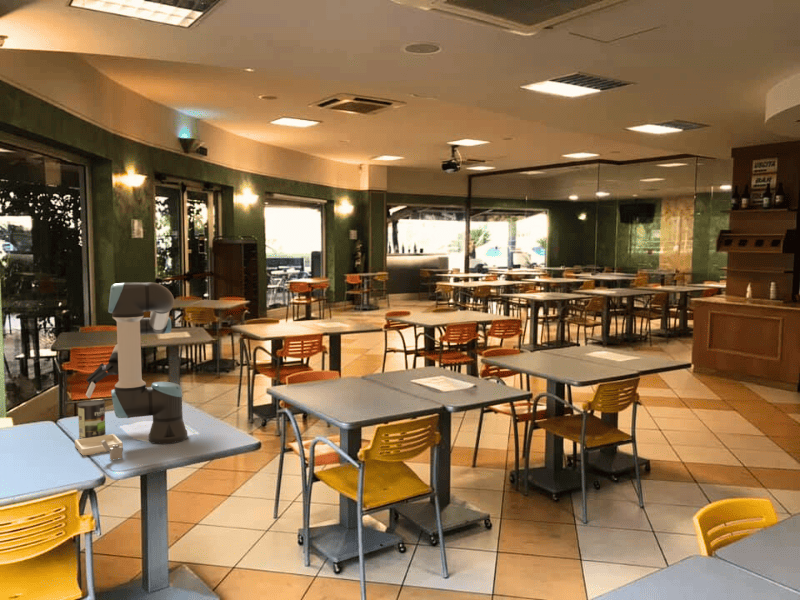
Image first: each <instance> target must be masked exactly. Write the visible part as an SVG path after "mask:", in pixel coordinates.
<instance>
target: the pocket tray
mask: <svg viewBox="0 0 800 600" xmlns="http://www.w3.org/2000/svg"><path fill="white" fill-rule="evenodd" d="M103 440H105V441H106V442H107V444H108V446H109V447H110V448H113V445H120V446H121V447H122V450H123V449H124V445H123V444H124V443H123V442H122V440H121V439H120V438H119V437H117V435H116V434H115V433H109V434H106V435H103V436H97V437H90V438H84V439H80V438H79V439H74V448H76V449H78V450H77V451H78V452H79V454H80V453H81V454H82V455H85V456H91V455H95V453H97V454H101V453H100V452H103V453H106V452H107V451H106V449H105V448H104V446H103V445H102V443H101V441H103ZM109 452H110V450H109ZM107 453H108V452H107ZM81 454H80V455H81ZM82 455H81V456H82Z"/></svg>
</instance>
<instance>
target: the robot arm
mask: <svg viewBox="0 0 800 600" xmlns="http://www.w3.org/2000/svg"><path fill="white" fill-rule="evenodd" d="M109 292H110V293H109V299H108V300H109V301H108V308H107V309H108V311H107V313H110V314H112V315H111V316H112V317H111V318H112V319H113V320H115V322H116V335H117V336H116V340H117V341H116V343H115V346H114V347H113V350H112V353H111V355H110V356H109V359H108V363H106V364H104V363H102V362H101V363H100V364H99V366H98V367H97V368H96V369H95V370H94V371H93V372H92V373H91V374H90V375H89V376H88V377H87V378H86V381H87V382H88V385H87V391H86V393H85V396H86V397H87V398H88V399H91V397H92V395H93V392H94V390H95V388H96V386H97V385H96V384H97V383H98V382H99V381H101V380H103V379H104V378H106V377H109V376H113V375H114V376H117V375H118V381H117V382H116V383H115V384H114V388H113V389H111V390H110V394H111V401H112V405H113V410H114V411H113V412H114V414H115V417H116V418H118V419H130V418H139V417H140V418H141V417H150V416H152V424H151V427H150V430H149V433H148V441H149V442H150V443H151V444H157V445H166V444H175V443H179V442H182V441H185V440H186V439H188V430H187V429H186V428H187V427H186V425H185V421H184V417H183V416H184V415H183V392H182V391H183V389H182V387H181V385H180V384H178V383H176V382H169V381H154V382H152V383H151V386H147V382H146V381H144V380H143V379H142V378H143V377H142V376H143V375H142V349H141V347H142V345H141V335H143V336H145V335H165V334H171V332H172V319H171V317H170V311H172V309H173V308H174V305H175V298H174V295H173V294H172V292H171V291H170V289H168V288H167V287H165V286H164V285H162V284H160V283H156V282H150V281H149V282H119V283H113V284H112V285H111V286H110V290H109ZM145 312H150V315H149V316H150V317H144V316H145V315H144V313H145Z"/></svg>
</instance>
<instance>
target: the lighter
mask: <svg viewBox="0 0 800 600" xmlns="http://www.w3.org/2000/svg"><path fill="white" fill-rule="evenodd" d="M101 443H102V445H103V446H104V448H105V449H106V451H109V450H110V451H109V460H110V459H111V460H112V461H114V460H113V459H117V460H119V459H118V458H122V459H123V449H122V447H121V446H120V445H113V448H110V447H109V446H108V444H107V442H106V441H105V440H103V441H101ZM111 460H110V461H111Z"/></svg>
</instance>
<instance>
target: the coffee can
mask: <svg viewBox="0 0 800 600" xmlns="http://www.w3.org/2000/svg"><path fill="white" fill-rule="evenodd" d="M105 403H106V401H104V400H101V399H97V400H96V399H94V400H84V401H81V402H79V403H77V414H78V416H77V417H78V418H77V419H78V434H79V435H78V438H79V439H80V438H81V439H84V438H90V437H97V436H103V435H107V434H106V433H107V432H106V412H105V411H106V409H105V407H106V406H105Z"/></svg>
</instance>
